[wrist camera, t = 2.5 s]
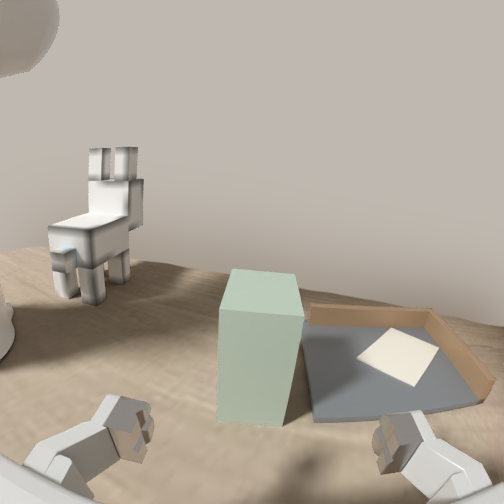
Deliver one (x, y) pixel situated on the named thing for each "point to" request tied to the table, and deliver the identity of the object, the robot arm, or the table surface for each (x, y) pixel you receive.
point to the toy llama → (99, 229)
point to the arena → (387, 363)
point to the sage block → (257, 346)
